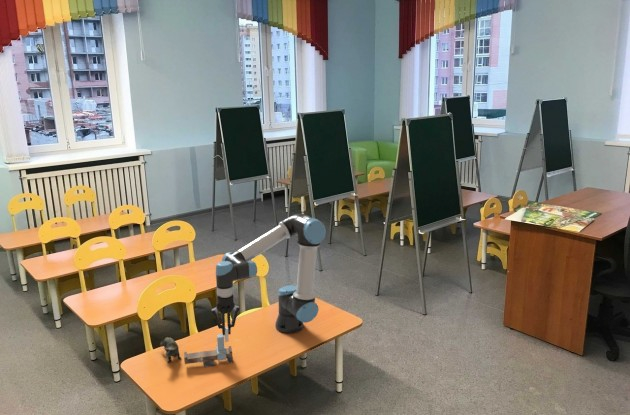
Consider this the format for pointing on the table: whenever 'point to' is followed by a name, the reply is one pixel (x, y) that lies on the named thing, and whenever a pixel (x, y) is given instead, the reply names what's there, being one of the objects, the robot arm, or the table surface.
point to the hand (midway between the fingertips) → (226, 340)
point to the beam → (207, 357)
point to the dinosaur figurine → (170, 349)
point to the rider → (220, 347)
